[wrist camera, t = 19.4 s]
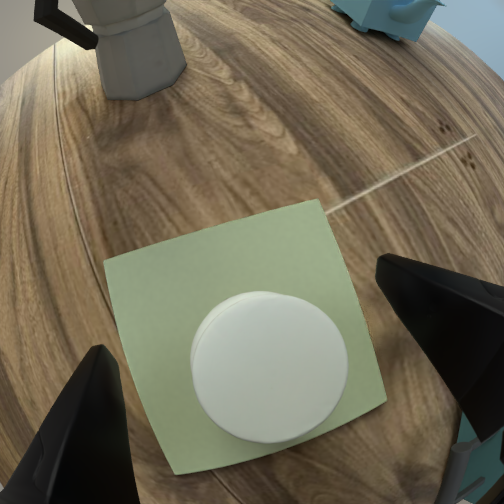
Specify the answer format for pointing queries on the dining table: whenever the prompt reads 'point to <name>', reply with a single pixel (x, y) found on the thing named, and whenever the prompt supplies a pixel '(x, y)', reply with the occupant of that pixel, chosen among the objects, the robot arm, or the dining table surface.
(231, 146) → the dining table surface
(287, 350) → the pill bottle
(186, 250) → the mat
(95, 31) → the coffee maker
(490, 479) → the drawer
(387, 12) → the teapot
